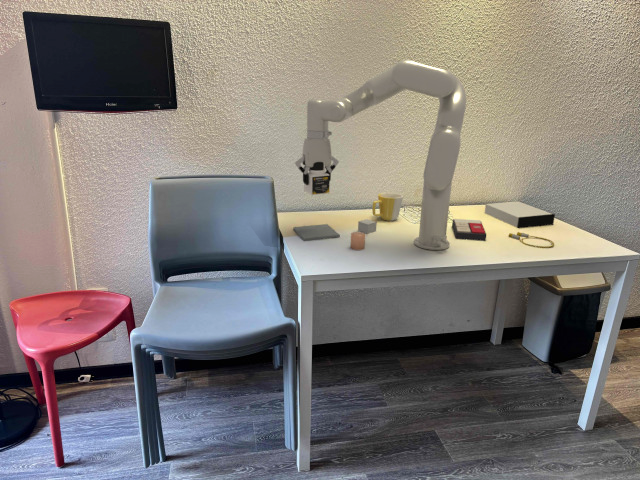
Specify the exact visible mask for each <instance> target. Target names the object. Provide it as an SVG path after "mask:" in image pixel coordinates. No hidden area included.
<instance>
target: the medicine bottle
mask: <svg viewBox="0 0 640 480" xmlns="http://www.w3.org/2000/svg"><path fill="white" fill-rule="evenodd" d="M325 172H326V169H325V164H324V162H315V163H314V164H313V167H310V169H309V171H308V172H307V174H308V175H309V177H308V185H306V184H304V183H303V185H304V186H303V188H304V189H303V191H304V192H305V193H308V194H309V195H311V196H317V195H327V194H330V184H331V183H330V182H331V180H330V175H329V174H327V173H325Z"/></svg>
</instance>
